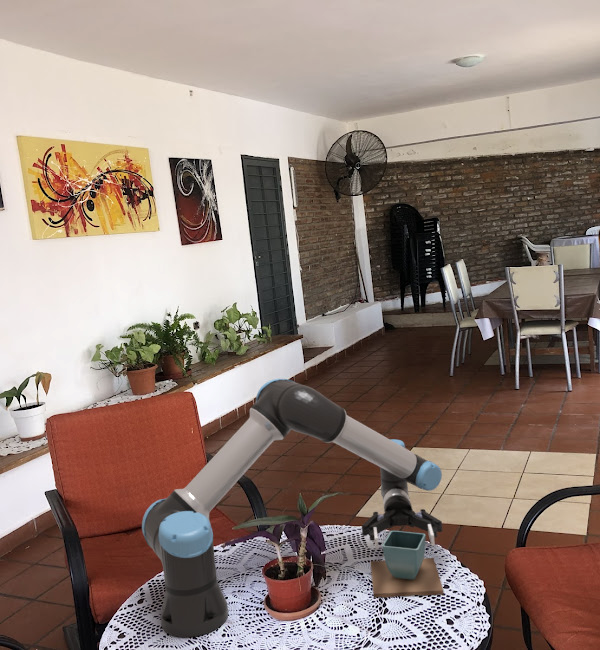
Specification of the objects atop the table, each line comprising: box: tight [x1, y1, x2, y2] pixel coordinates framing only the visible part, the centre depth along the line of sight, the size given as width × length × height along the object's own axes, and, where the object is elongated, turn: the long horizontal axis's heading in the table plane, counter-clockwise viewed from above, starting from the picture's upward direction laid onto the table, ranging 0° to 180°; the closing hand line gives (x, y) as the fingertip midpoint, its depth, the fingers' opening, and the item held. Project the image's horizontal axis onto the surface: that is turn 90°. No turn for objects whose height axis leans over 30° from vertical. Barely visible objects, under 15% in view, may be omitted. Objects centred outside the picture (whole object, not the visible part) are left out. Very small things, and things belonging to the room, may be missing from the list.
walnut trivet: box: [370, 557, 444, 599], centre depth 163 cm, size 16×16×1 cm
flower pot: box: [381, 530, 426, 580], centre depth 163 cm, size 9×9×9 cm
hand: (404, 542), depth 163 cm, fingers open, 13 cm apart
